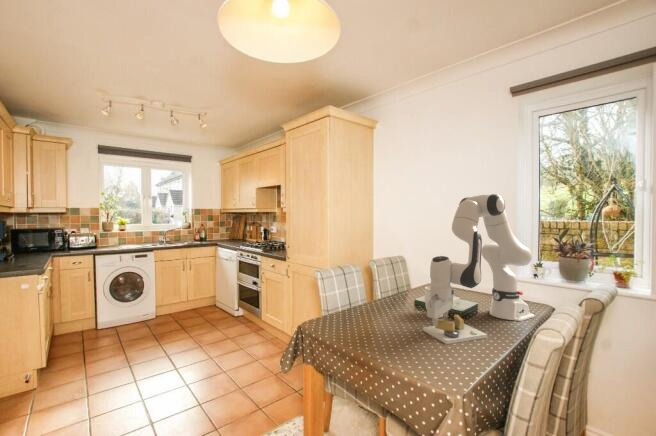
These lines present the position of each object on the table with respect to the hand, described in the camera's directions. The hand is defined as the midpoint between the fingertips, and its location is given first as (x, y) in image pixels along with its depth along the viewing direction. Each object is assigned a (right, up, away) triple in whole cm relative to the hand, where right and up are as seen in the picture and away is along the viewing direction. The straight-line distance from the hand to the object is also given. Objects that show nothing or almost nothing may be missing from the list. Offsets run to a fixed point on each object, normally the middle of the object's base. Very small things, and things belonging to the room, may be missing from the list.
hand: (440, 323), depth 138 cm
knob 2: (+10, -4, +4) cm, 11 cm away
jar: (+7, -5, +27) cm, 28 cm away
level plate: (+7, -6, +1) cm, 9 cm away
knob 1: (+2, -4, -3) cm, 5 cm away
